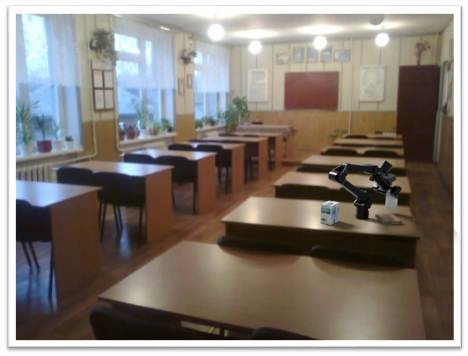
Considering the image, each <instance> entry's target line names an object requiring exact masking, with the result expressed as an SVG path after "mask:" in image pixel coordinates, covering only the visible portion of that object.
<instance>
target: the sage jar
mask: <svg viewBox="0 0 468 356" xmlns="http://www.w3.org/2000/svg"><path fill="white" fill-rule="evenodd" d="M385 209H386V210H390V211H392V210H393V211H395V210H396V211H397V209H398V199H396V198H394V197H392V196H390V190H388V191H386V195H385Z"/></svg>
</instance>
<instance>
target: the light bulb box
mask: <svg viewBox="0 0 468 356" xmlns="http://www.w3.org/2000/svg"><path fill="white" fill-rule="evenodd" d="M320 206H321V207H320V223H321V224H324V225H330V226H332V225H334V224H336V223H338V222H340V207H341V202H338V201H335V200H333V201H332V200H328V201H326V202H323V203H321V205H320Z"/></svg>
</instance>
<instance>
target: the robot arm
mask: <svg viewBox="0 0 468 356" xmlns="http://www.w3.org/2000/svg"><path fill="white" fill-rule="evenodd" d="M392 169H393V164H392V163H390V162H389V161H388V160H385V159H383V160H382V161H381V163H379V165H377V164H371V163H364V164H356V163H349V162H343V163H341V164H340V165H339V166H337V167H335V168H334V169H332V170H331V171H329V173H328V176H327V177H328V178H327V179H328V180H329V181H331V182H333V183H335V184H338V185H339V186H341V187H342V188H344V189H345V190H346V191H347V192H348V193H350V194H352V196H354V197H355V200H354V201H353V206H354V207H355V214H354V217H355V218H356V219H357V220H369V216H370V209H371V207H372V205H373V201H374V198H373V195H372V194H370V193H369V192H368V191H366V190H362V189H359V188H357V187H356V185H354V184H352V183H351V182H350V181H348V180H347V176H348V174H349V172H361V173H364V174H368V175H371V176H369V179H368V180H369V181H370V182H374V183H373V185H372V187H371V189H372V190H373V191H375V192H377V193H380V194H382V195H384V196H386V191H390V196H392V197H394V198H396V199H397V200H398V199H399V194H400V193H401V192H402V190H403V188H402V186H400V185H397V184H396V185H393V183H394V182H395V181H397V176H396V174H393V173H389V172H390V170H392ZM392 185H393V186H392Z"/></svg>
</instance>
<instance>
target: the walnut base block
mask: <svg viewBox="0 0 468 356" xmlns="http://www.w3.org/2000/svg"><path fill="white" fill-rule="evenodd" d="M375 217H376V218H377V219H378V220H377V219H376V218H375ZM374 218H375V219H376V220H377V221H379V222H380V223H381V224H382V225H383V224H401V225H402V224H403V223H402V220H401V219H400V218H399V217H397V216H396V215H394V214H393V213H375V214H374Z"/></svg>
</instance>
